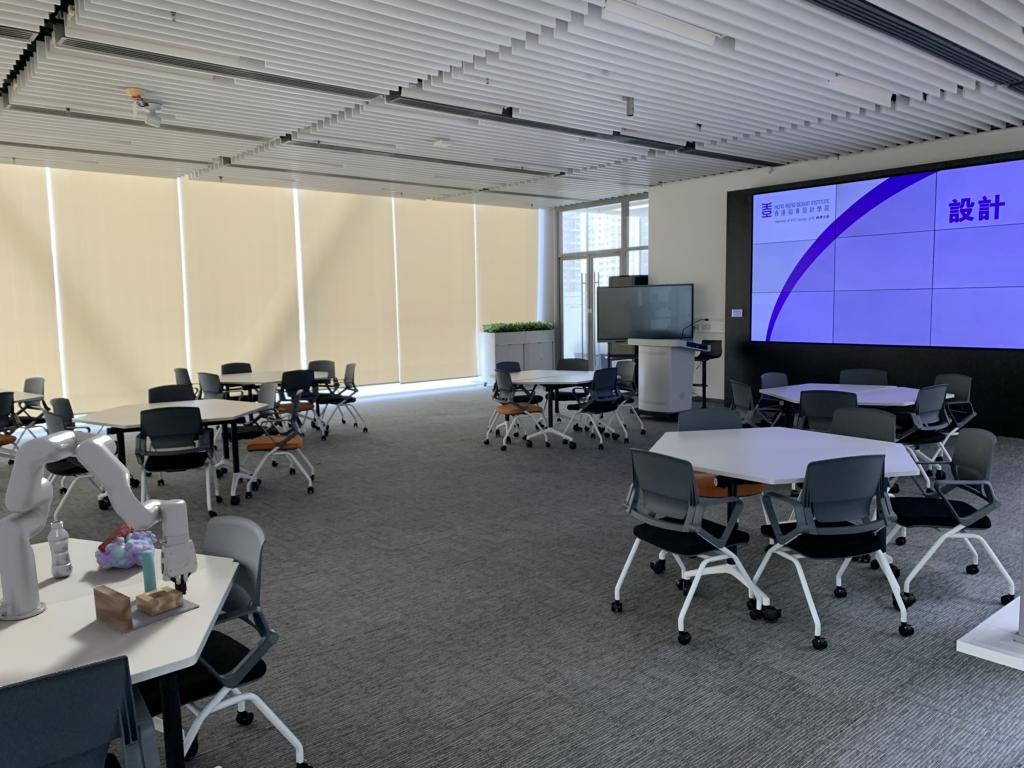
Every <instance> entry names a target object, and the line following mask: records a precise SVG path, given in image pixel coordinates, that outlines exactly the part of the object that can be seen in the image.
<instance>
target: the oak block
mask: <svg viewBox="0 0 1024 768" xmlns="http://www.w3.org/2000/svg"><path fill="white" fill-rule="evenodd" d="M183 599H184V595H183V593H182V592H180V591H178V590H175V588H173V587H171V586H168V585H165V586H163V587H159V588H157V589H156V590H153V591H150V592H147V593H145V592H144V593H141V594H138V595H136V596H135V600H136V605H137V609H139V610H141V611H143V612H145V613H148V614H150V615H152V616H153V615H156V614H159V613H161V612H164V611H167V610H170V609H173V608H176V607H179V606H182V605H184V603H183Z"/></svg>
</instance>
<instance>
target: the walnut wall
mask: <svg viewBox="0 0 1024 768" xmlns="http://www.w3.org/2000/svg"><path fill="white" fill-rule="evenodd" d="M92 591H93V598H94V599H93V600H94V606H95V616H96V617H95V618H98V619H99V620H101V621H103V622H105V623H107V624H108V625H110V626H112V627H114V628H116V629H118V630H119V631H121V632H125V631H128V630H131V629H133V622H132V612H131V606H132V604H131V603H132V602H131V597H129V596H127V595H126V594H124V593H121V592H119V591H118V590H115V589H113V588H112V587H111V588H110V587H109V586H107V585H104V584H102V585H98V586H96V587H93V590H92ZM108 625H107V626H108Z"/></svg>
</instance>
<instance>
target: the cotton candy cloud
mask: <svg viewBox="0 0 1024 768" xmlns="http://www.w3.org/2000/svg"><path fill="white" fill-rule="evenodd" d="M139 531H140V530H136V529H133V528H132V527H130V526H129V525H128V524H127V523H126V522H125V521H123V523H121V525H120V526H118V528H117V529H115V530H114V531H113V532H112V533H111V534H110V535H109V536H108V537H107V538H106V539H104V541H102V542H101V544H100V543H99V545H98V546H97V549H96V551H95V552H94V557H95V559H96V560H95V562H96V563H97V564H98V566H100V568H101V569H107V570H109V569H111V568H112V567H116V568H120V569H121V568H122V569H125V570H126V569H127V570H128V569H130V568H131V567H134V566H135V564H136V565H138V566H139V567H142V556H141V552H143V551H146V550H153V554H154V555H155V552H156V550H155V549H156V548H155V545H154V544H156V543H157V542H158V540H157V538H156V535H155V534H154V533H152V531H151V530H145V531H140V532H139Z"/></svg>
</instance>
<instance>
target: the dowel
mask: <svg viewBox="0 0 1024 768" xmlns="http://www.w3.org/2000/svg"><path fill="white" fill-rule="evenodd" d="M141 556H142V566H141V568H142V576H143V585H144V586H143V587H144V593H147V592H150V591H153V590H156V589H158V587H157V577H156V566H155V553H154V554H153V550H146V551H143V552H141Z"/></svg>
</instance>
